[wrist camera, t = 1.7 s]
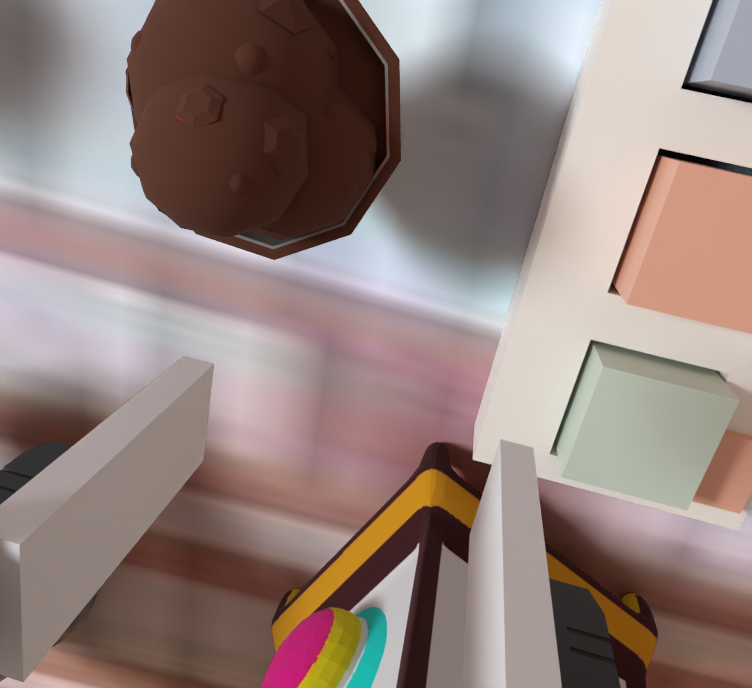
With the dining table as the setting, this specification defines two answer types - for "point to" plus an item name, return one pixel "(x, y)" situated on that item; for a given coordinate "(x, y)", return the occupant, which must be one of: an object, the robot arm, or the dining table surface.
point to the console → (619, 249)
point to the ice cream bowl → (263, 118)
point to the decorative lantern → (417, 598)
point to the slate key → (724, 50)
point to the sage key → (643, 424)
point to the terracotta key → (691, 245)
